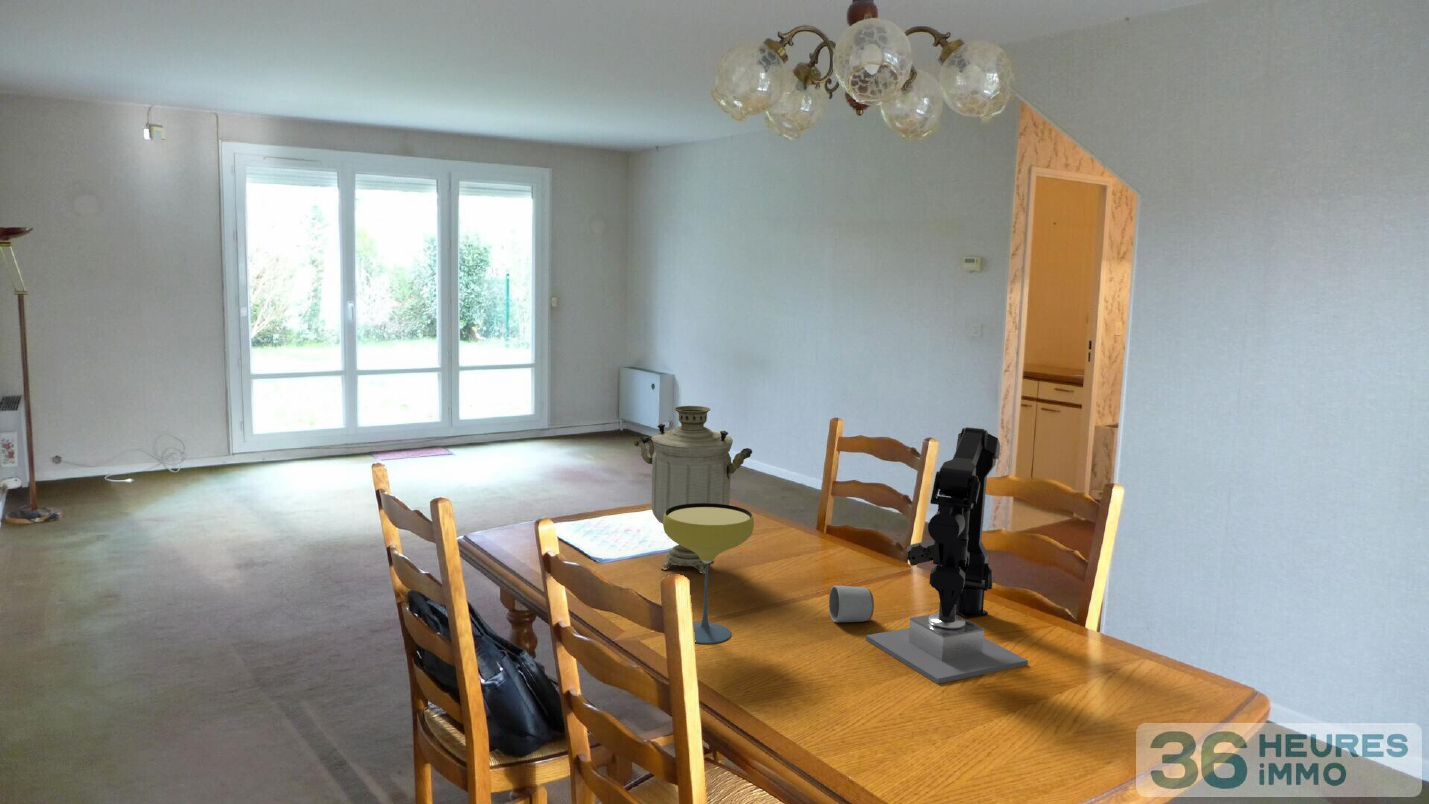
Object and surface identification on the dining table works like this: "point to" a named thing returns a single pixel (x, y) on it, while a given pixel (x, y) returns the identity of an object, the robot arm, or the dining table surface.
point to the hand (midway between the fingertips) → (947, 609)
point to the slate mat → (947, 670)
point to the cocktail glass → (708, 545)
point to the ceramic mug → (850, 604)
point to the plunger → (947, 620)
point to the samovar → (689, 470)
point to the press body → (946, 638)
